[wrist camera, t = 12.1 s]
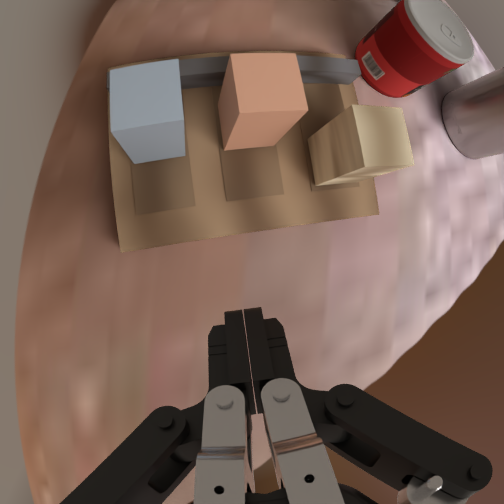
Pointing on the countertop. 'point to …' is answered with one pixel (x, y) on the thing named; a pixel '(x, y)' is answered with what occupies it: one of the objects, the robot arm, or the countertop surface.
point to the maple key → (360, 145)
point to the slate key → (148, 110)
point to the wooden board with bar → (235, 164)
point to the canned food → (413, 47)
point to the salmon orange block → (260, 99)
